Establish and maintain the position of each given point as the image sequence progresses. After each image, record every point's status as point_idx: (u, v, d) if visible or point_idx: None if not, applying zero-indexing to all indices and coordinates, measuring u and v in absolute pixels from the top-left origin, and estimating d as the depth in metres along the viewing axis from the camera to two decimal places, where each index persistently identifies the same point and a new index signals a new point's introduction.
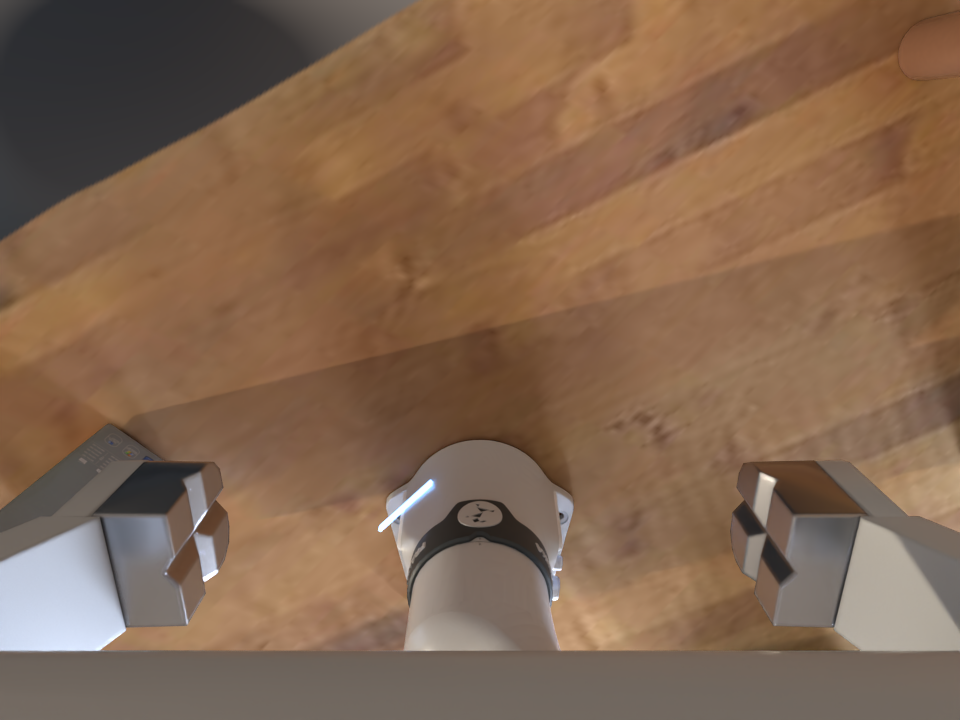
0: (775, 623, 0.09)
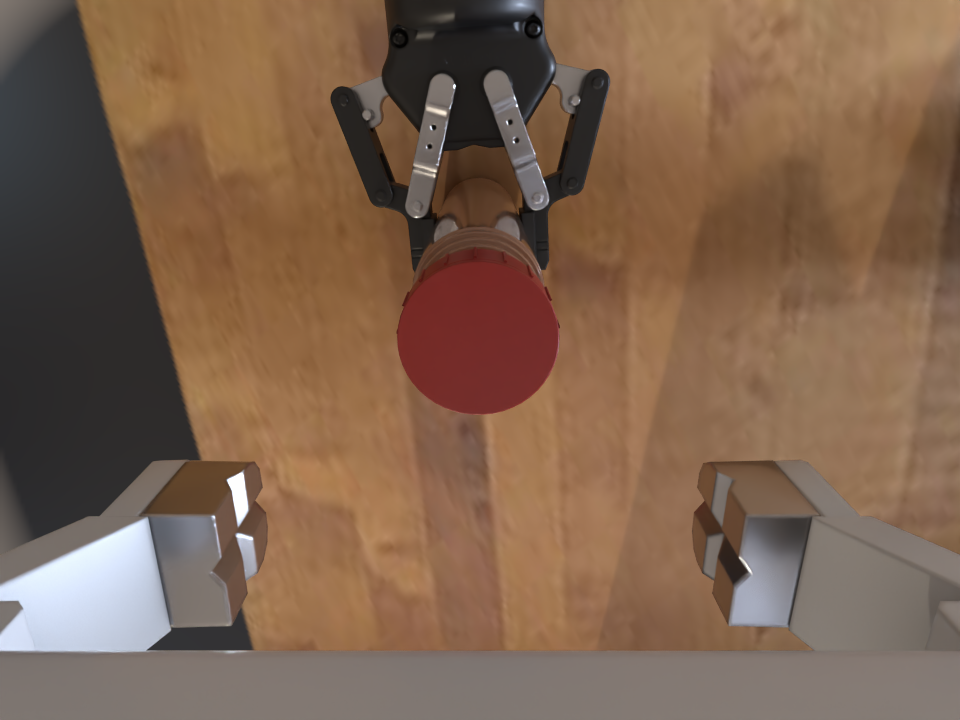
0: (731, 623, 0.09)
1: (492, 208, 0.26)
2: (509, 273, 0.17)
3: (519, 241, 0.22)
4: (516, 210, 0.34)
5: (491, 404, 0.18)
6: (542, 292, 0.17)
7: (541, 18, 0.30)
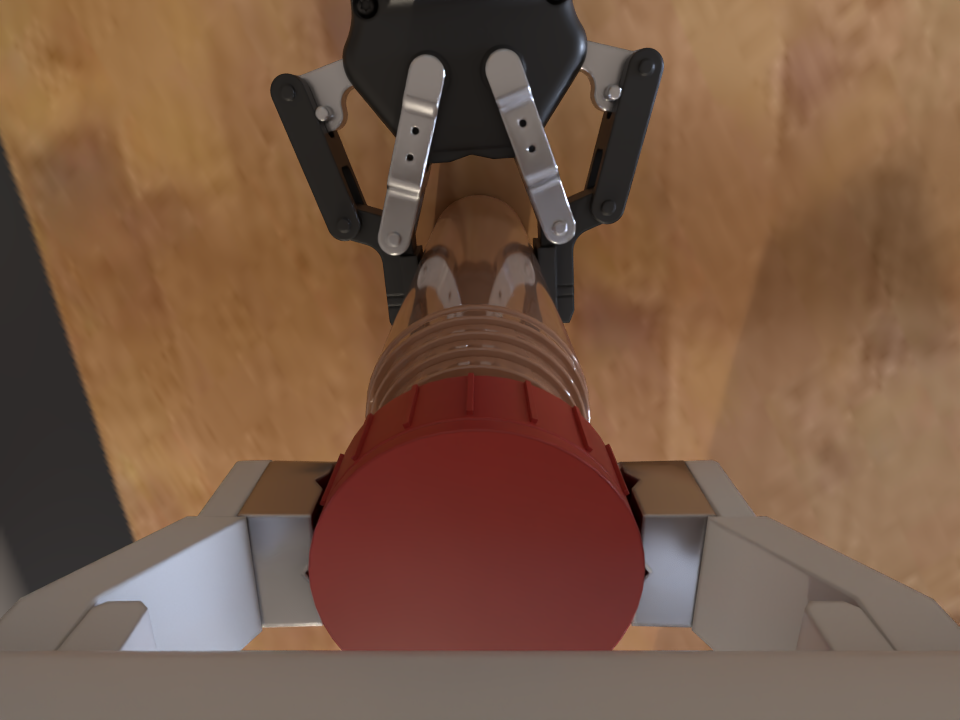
0: (634, 623, 0.09)
1: (499, 255, 0.17)
2: (543, 453, 0.08)
3: (548, 329, 0.13)
4: None
5: None
6: (613, 488, 0.08)
7: None
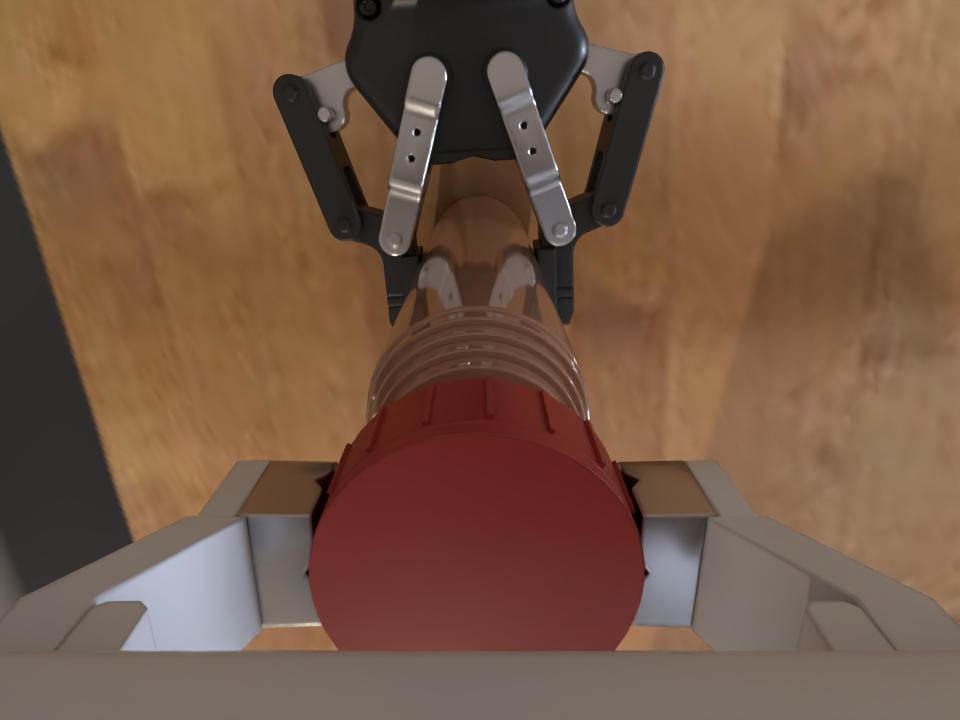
0: (634, 624, 0.09)
1: (500, 256, 0.17)
2: (341, 506, 0.08)
3: (548, 330, 0.13)
4: None
5: (622, 584, 0.08)
6: (395, 450, 0.08)
7: None
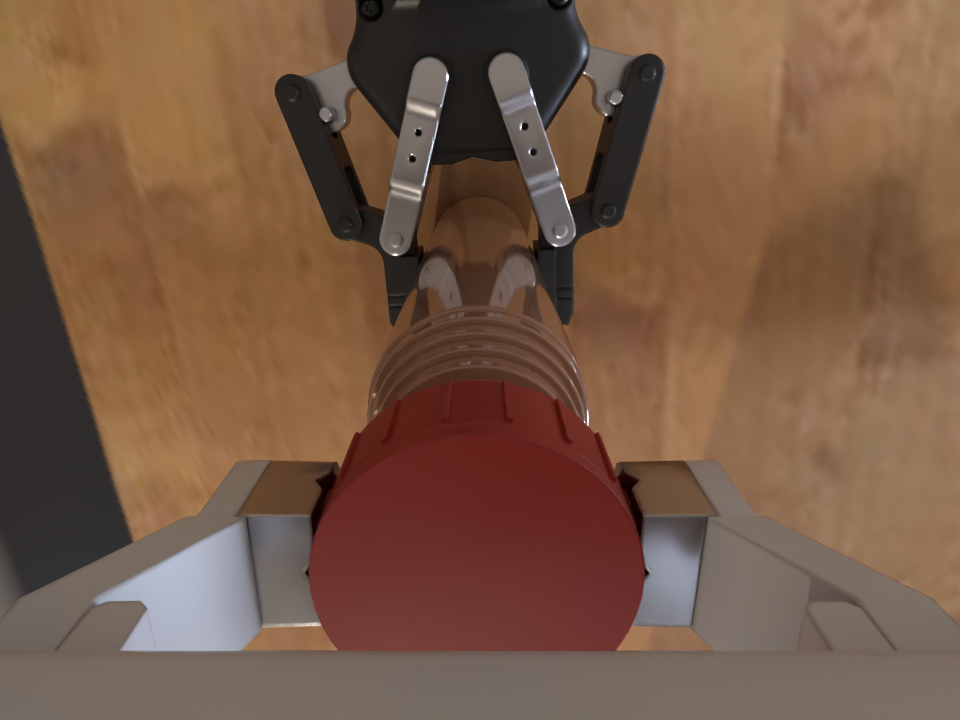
0: (634, 624, 0.09)
1: (500, 256, 0.18)
2: None
3: (548, 330, 0.13)
4: (530, 245, 0.26)
5: (509, 458, 0.08)
6: (320, 618, 0.09)
7: None
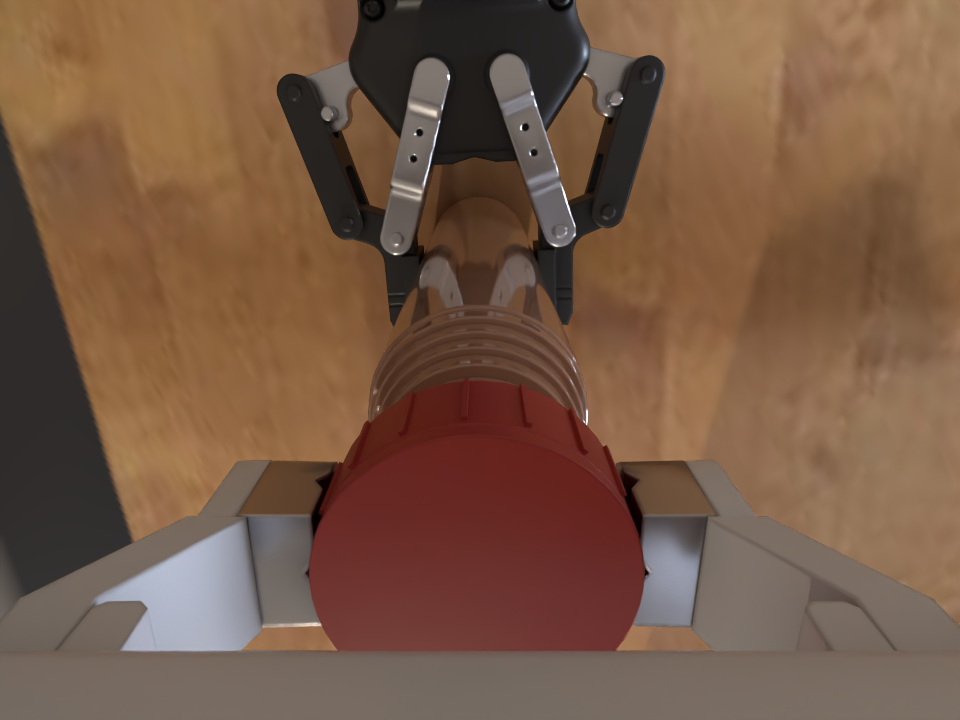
0: (634, 623, 0.09)
1: (501, 256, 0.18)
2: None
3: (548, 329, 0.13)
4: (530, 245, 0.26)
5: (339, 535, 0.08)
6: None
7: None
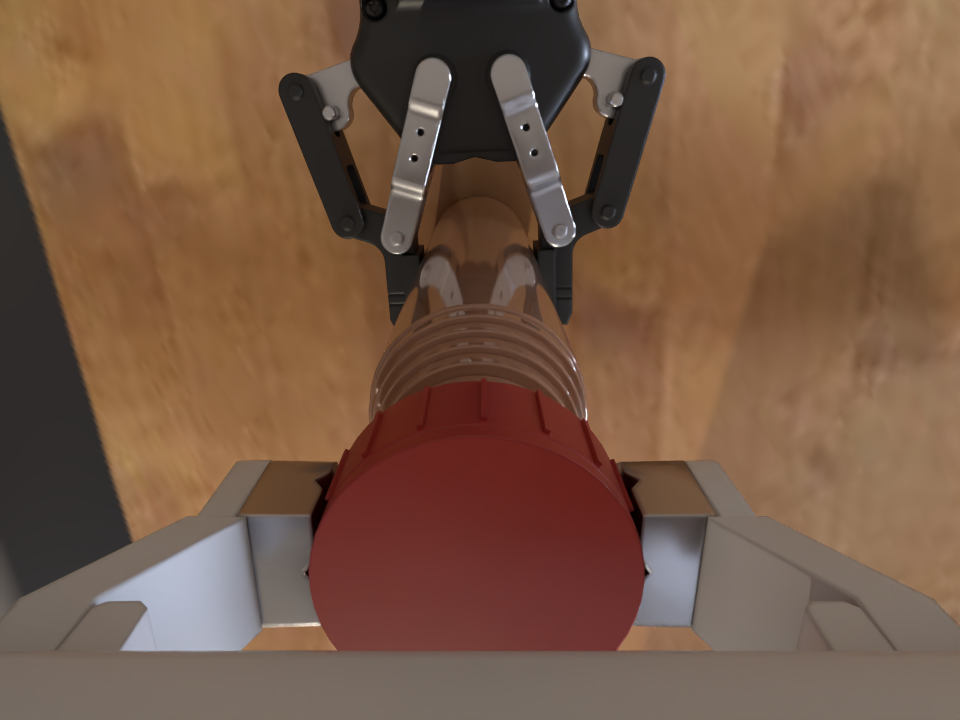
0: (634, 623, 0.09)
1: (501, 256, 0.18)
2: (628, 542, 0.08)
3: (548, 329, 0.13)
4: (530, 245, 0.26)
5: None
6: (638, 603, 0.09)
7: None
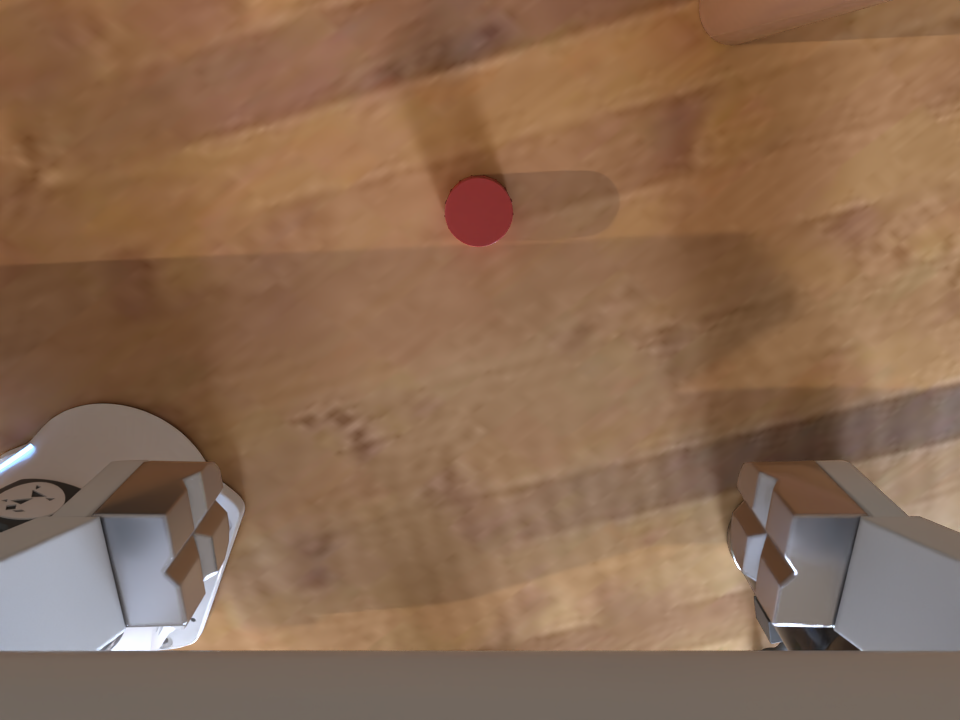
0: (775, 623, 0.09)
1: None
2: (474, 180, 0.41)
3: None
4: None
5: (498, 234, 0.42)
6: (490, 180, 0.41)
7: None
